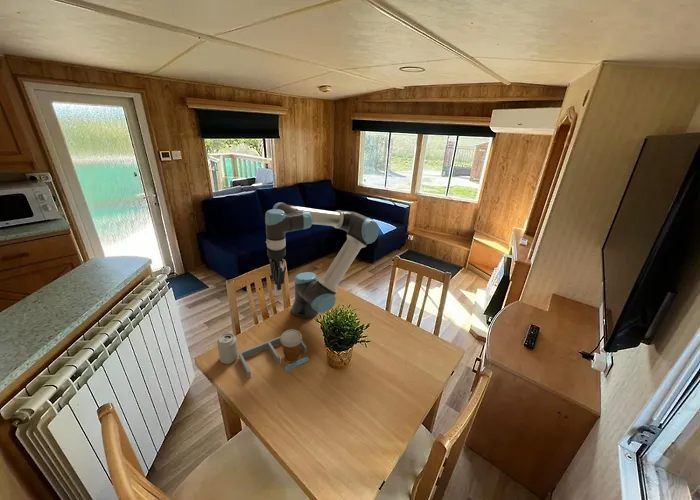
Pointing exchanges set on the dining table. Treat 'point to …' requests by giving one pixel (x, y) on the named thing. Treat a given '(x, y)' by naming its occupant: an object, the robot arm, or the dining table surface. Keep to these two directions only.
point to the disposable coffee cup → (291, 344)
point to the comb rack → (260, 348)
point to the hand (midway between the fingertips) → (278, 294)
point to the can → (227, 348)
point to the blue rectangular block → (296, 364)
